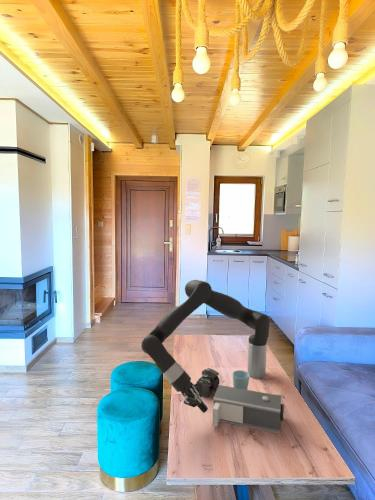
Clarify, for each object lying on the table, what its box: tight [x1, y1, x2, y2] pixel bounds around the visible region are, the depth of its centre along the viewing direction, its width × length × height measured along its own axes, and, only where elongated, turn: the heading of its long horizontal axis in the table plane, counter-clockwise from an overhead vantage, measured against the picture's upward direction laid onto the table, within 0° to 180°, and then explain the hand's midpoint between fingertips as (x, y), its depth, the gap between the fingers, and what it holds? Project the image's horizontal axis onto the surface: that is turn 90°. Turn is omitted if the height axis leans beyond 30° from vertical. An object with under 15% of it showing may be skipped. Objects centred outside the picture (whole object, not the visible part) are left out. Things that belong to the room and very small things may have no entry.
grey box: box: [212, 384, 285, 435], centre depth 129 cm, size 11×27×10 cm, turn 72°
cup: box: [232, 369, 250, 390], centre depth 145 cm, size 8×8×10 cm
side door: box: [211, 401, 243, 427], centre depth 124 cm, size 6×11×7 cm, turn 72°
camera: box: [195, 367, 221, 398], centre depth 150 cm, size 13×10×10 cm
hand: (206, 410), depth 125 cm, fingers closed
